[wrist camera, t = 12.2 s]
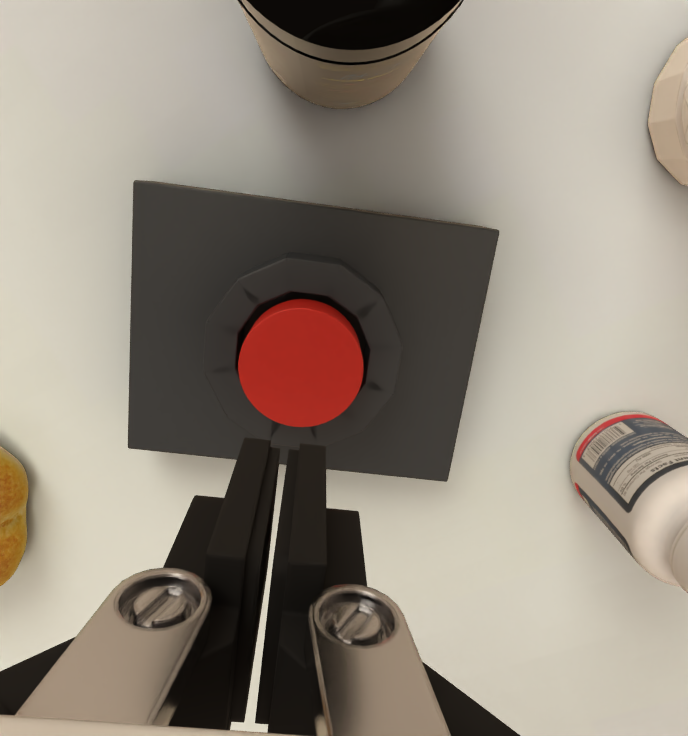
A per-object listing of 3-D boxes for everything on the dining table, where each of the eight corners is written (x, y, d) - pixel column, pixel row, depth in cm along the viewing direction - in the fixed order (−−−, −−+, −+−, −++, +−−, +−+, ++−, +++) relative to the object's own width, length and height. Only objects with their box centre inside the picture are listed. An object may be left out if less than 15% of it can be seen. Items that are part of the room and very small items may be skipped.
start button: (249, 291, 21) (242, 300, 19) (368, 306, 21) (372, 316, 19) (240, 403, 22) (233, 420, 20) (352, 415, 22) (354, 433, 21)
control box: (152, 181, 23) (113, 178, 19) (483, 226, 24) (517, 233, 20) (145, 425, 26) (110, 471, 22) (437, 457, 27) (457, 506, 23)
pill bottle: (667, 501, 29) (812, 631, 20) (565, 509, 28) (666, 644, 20) (678, 403, 27) (840, 500, 18) (569, 412, 27) (681, 514, 18)
